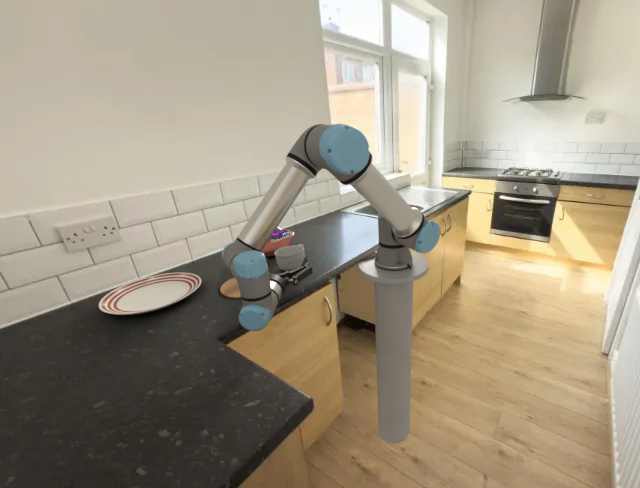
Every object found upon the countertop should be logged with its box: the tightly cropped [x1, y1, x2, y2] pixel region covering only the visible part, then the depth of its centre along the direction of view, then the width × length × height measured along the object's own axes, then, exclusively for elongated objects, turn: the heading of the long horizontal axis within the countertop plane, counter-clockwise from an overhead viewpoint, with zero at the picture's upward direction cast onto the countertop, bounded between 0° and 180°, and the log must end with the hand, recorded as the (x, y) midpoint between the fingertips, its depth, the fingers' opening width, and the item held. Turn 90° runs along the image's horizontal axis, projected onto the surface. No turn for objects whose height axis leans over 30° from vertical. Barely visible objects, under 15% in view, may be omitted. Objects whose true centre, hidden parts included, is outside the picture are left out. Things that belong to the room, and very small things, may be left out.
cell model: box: [261, 226, 295, 258], centre depth 134 cm, size 17×20×11 cm
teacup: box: [274, 243, 306, 272], centre depth 122 cm, size 14×11×8 cm
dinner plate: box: [98, 272, 202, 316], centre depth 103 cm, size 27×27×3 cm
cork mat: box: [219, 276, 241, 299], centre depth 111 cm, size 18×18×1 cm
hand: (286, 260), depth 113 cm, fingers open, 13 cm apart
